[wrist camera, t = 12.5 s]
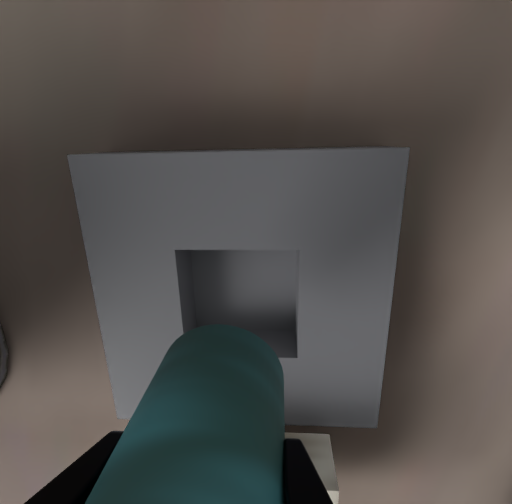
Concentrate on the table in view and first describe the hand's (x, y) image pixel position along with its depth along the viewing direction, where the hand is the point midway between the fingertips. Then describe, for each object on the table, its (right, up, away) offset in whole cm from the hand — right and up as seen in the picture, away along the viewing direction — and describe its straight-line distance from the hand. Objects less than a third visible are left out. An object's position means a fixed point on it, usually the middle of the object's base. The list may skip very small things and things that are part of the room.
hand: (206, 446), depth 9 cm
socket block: (+1, +3, +11) cm, 11 cm away
